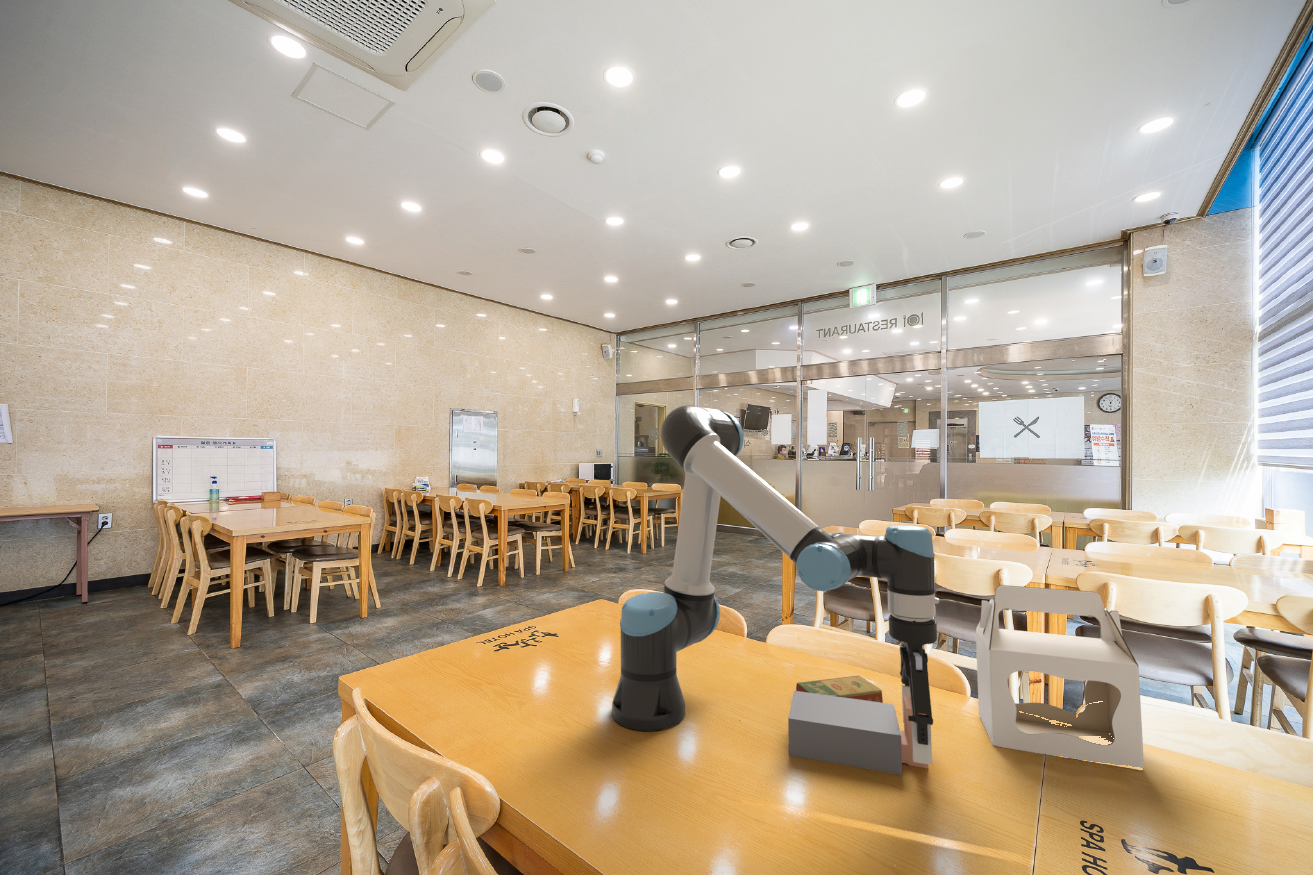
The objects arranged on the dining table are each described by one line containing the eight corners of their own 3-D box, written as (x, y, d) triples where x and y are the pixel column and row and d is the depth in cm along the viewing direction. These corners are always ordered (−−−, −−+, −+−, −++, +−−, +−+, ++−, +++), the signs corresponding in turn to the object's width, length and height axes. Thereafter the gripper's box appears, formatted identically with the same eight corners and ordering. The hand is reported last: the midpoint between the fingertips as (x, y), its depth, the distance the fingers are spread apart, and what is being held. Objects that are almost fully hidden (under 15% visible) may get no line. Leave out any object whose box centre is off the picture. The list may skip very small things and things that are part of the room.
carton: (883, 710, 110) (883, 689, 110) (815, 718, 106) (815, 697, 107) (859, 693, 118) (859, 674, 118) (795, 700, 114) (795, 681, 115)
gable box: (1112, 735, 99) (1104, 586, 101) (1146, 772, 87) (1137, 602, 89) (977, 714, 107) (972, 577, 109) (991, 746, 95) (985, 590, 97)
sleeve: (788, 759, 91) (788, 718, 91) (794, 727, 102) (793, 690, 102) (902, 779, 85) (901, 735, 85) (894, 743, 96) (893, 704, 96)
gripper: (950, 639, 78) (956, 787, 77) (924, 600, 101) (929, 712, 100) (895, 634, 80) (900, 777, 79) (882, 597, 104) (886, 706, 103)
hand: (916, 741), depth 90 cm, fingers open, 13 cm apart
